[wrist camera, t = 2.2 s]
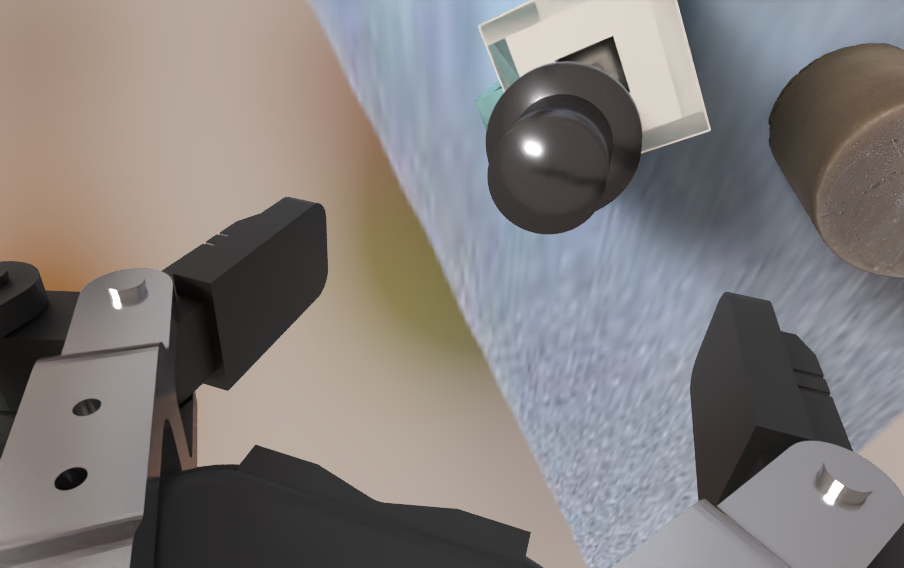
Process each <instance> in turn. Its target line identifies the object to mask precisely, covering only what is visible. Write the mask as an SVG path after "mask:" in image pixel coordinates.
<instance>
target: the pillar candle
mask: <svg viewBox="0 0 904 568" xmlns="http://www.w3.org/2000/svg"><path fill="white" fill-rule="evenodd" d="M769 125H770V138H769V145H770V148H771V151H772V153H773V155H774V157H775V159H776V161H777V163H778V165H779V166H780V168H781V170H782V171H783V173H784V175H785V176H786V178H787V180H788V181H789V183H790V185H791V187H792V189H793V190H794V192H795V193H796V195H797V196H798V198H799V200H800V201H801V203H802V205H803V206H804V208H805V210H806V212H807V213H808V215H809V217H810V218H811V220H812V222H813V224H814V225H815V227H816V229H817V231H818V232H819V234H820V235H821V237H822V239H823V241H824V242H825V243H826V244H827V246H828V247H829V248H830V249H831V250H832V252H833V253H835V254H836V255H837V256H838V257H839V258H841V259H842V260H844V261H845V262H847V263H849V264H850V265H852V266H854V267H856V268H858V269H861V270H864V271H867V272H871V273H874V274H878V275H884V276H891V277H897V278H901V277H902V278H904V50H902V49H900V48H897V47H894V46H891V45H889V44H884V43H882V44H869V43H868V44H860V45H856V46H851V47H845V48H842V49H839V50H836V51H833V52H831V53H828V54H826V55H824V56H822V57H821V58H819V59H816V60H815V61H813V62H812V63H810V64H809V65H807V66H806V67H805V68H803V69H802V70H801V71H800V72H799V74H798V75H795V77H793V78H792V79H791V80H790V81H789V82H788V84H787V85H786V86H785V88H784V89H783V90H782V92H781V94H780V95H779V97H778V98H777V101H776V102H775V104H774V106H773V109H772V111H771V115H770V117H769Z"/></svg>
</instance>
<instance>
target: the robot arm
mask: <svg viewBox="0 0 904 568" xmlns="http://www.w3.org/2000/svg"><path fill="white" fill-rule="evenodd" d="M326 231H327V230H326V213H325V210H324V207H323V206H322V205H321V204H319V203H314V202H309V201H305V200H300V199H296V198H291V197H285V198H283V199H281V200H280V201H279V202H277V203H276V204H274V205H273V206H271V207H270V208H268V209H267V210H265V211H264V212H262V213H261V214H257V215H254V216H251V217H248V218H246V219H242V220H239V221H237V222H235V223H234V224H232V225H231V226H229V227H227V228H226V229H224V230H223V231H222V232H220V235H215V236H214V237H212V238H211V239H209V240H208V241H206V244H202V245H200V246H199V247H197V248H196V249H194V250H193V251H191V252H190V253H188V254H186V255H185V256H183V257H182V258H181V259H179V260H177V261H176V262H174V263H173V264H171V265H170V266H168V267H167V268H165V269H164V270H162V271H159V270H154V269H148V268H132V269H124V270H120V271H115V272H111V273H108V274H105V275H103V276H100V277H98V278H96V279H94V280H93V281H91V282H90V283H88V284H87V285H86V286H85V287H84V288H83V289H82V290H81V292H67V291H45V288H44V285H43V282H42V279H41V277H40V273H39V271H38V269H37V268H36V267H34V266H33V265H31V264H27V263H23V262H15V261H5V262H4V261H3V262H0V568H543V567H542V566H540V565H539V564H537V563H536V562H534V561H533V560H531V559H529V558H528V557H526V551H527V547H528V543H529V538H530V532H528V531H525V530H521V529H519V528H515V527H512V526H509V525H506V524H503V523H499V522H497V521H493V520H490V519H487V518H483V517H481V516H478V515H475V514H471V513H468V512H465V511H462V510H459V509H450V508H439V507H427V506H416V505H404V504H392V503H383V502H379V501H376V500H374V499H372V498H370V497H368V496H367V495H365V494H363V493H362V492H360V491H359V490H357V489H356V488H354V487H353V486H351V485H349V484H348V483H346V482H345V481H343V480H342V479H340V478H338V477H337V476H335V475H333V474H332V473H330V472H329V471H327V470H326V469H324V468H322V467H321V466H319V465H318V464H314V463H311V462H308V461H305V460H302V459H298V458H295V457H292V456H289V455H286V454H283V453H280V452H277V451H273V450H270V449H267V448H264V447H261V446H258V445H255V446H254V447H253V449H252V450H251V451H250V452H249V454H248V455H247V456H246V458H245V459H244V460H243V461H242V462H241V464H240V465H234V464H232V465H231V464H230V465H211V466H203V467H197V399H196V393H195V390H196V389H197V388H198V387H199V386H200V385H201V384H203V383H204V384H207V385H210V386H214V387H217V388H221V389H224V390H227V391H228V390H229V389H230V388H231V387H232V386H233V385H234V384H235V383H236V382H237V381H238V380H239V379H240V378H241V377H242V376H243V375H244V374H245V373H246V372H247V371H248V370H249V368H250V367H251V366H252V365H253V364H254V363H255V362H256V361H257V360H258V359H259V358H260V357H261V356H262V355H263V354H264V353H265V352H266V351H267V350H268V349H269V348H270V347H271V346H272V345H273V344H274V342H275V341H276V340H277V339H278V338H279V337H280V336H281V335H282V334H283V333H284V332H285V331H286V330H287V329H288V328H289V327H290V326H291V325H292V324H293V323H294V321H296V320H297V319H298V318H299V316H300V315H301V314H302V313H303V312H304V311H305V310H306V309H307V308H308V307H309V306H310V305H311V304H312V303H313V302H314V301H315V300H316V299H317V298H318V297H319V295H320V294H321V292H322V290H323V288H324V286H325V283H326V279H327V274H328V258H327V232H326ZM823 376H824V375H823V373H822V370H821V368H820V365H819V362H818V360H817V357H816V355H815V354H814V353H813V352H812V351H811V350H810V349H809V348H808V347H807V346H806V345H805V344H804V342H803V341H802V340H801V339H800V338H799V337H798V336H797V335H795V334H791V333H786V332H782V331H780V328H779V325H778V322H777V318H776V315H775V312H774V309H773V306H772V304H771V302H770V301H767V300H762V299H758V298H753V297H748V296H744V295H739V294H734V293H730V292H725V293H724V294H723V295H722V296H721V298H720V300H719V302H718V304H717V307H716V309H715V312H714V315H713V317H712V320H711V322H710V325H709V327H708V330H707V332H706V335H705V337H704V340H703V342H702V345H701V347H700V350H699V352H698V355H697V358H696V360H695V364H694V367H693V372H692V377H691V385H690V394H691V407H692V421H693V434H694V447H695V460H696V474H697V487H698V500H699V501H698V502H696V503H695V504H694V505H692V506H691V507H690V508H688V509H687V510H686V511H684V512H683V513H682V514H681V515H679V516H678V517H677V518H675V519H674V520H673V521H672V522H670V523H669V524H668V525H666V526H665V527H664V528H663V529H661V530H660V531H659V532H657V533H656V534H655V535H653V536H652V537H651V538H650V539H648V540H647V541H646V542H644V543H643V544H642V545H641V546H639V547H638V548H637V549H635V550H634V551H633V552H632V553H630V554H629V555H628V556H626V557H625V558H624V559H623V560H621V561H620V562H619V563H617V564H616V565H615V566H613V567H612V568H904V496H903V495H902V493H901V491H900V490H899V488H898V487H897V486H896V485H895V483H894V482H893V481H892V480H891V479H890V478H889V477H888V476H887V475H886V474H885V473H884V472H883V471H882V470H880V469H879V468H878V467H877V466H875V465H874V464H872V463H871V462H870V461H868V460H867V459H865V458H863V457H862V456H860V455H858V454H856V453H854V452H853V450H852V447H851V445H850V442H849V440H848V437H847V435H846V432H845V429H844V427H843V424H842V422H841V419H840V417H839V414H838V411H837V409H836V406H835V404H834V401H833V398H832V397H829V395H830V391H829V388H828V386H827V383H826V380H824V379H823Z"/></svg>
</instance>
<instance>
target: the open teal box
mask: <svg viewBox="0 0 904 568" xmlns="http://www.w3.org/2000/svg"><path fill="white" fill-rule="evenodd" d="M478 28H479V30H480V33H481V35H482V38H483V41H484V43H485V46H486V48H487V51H488V53H489V56H490V59H491V61H492V64H493V66H494V69H495V71H496V74H497V77H498V79H499V81H498V82H497V83H496V84H494V85H493V86H492V87H491V88H490V89H489V90H487V91H486V92H485V93H484V94H483V95H482V96H481V97H479V98H478V99H477V100H476V101H475V103H476V106H477V108H478V111H479V113H480V115H481V118H482V120H483V123H484V125H485V128H486V130H487V127H488V122H489V119H490V116H491V113H492V111H493V109H494V107H495V105H496V103H497V102H498V100H499V99H500V97H501V96H502V95H503V93H504V92H505V91H506V90H507V89H508V88H509V87H510V86H511V85H512V84H513V83H514V82H515V81H516V80H517V79H518V78H520V77H521V76H523V75H524V74H526V73H527V72H529V71H531V70H533V69H535V68H537V67H540V66H543V65H545V64H549V63H554V62H558V59H560V58H562V57H564V56H567V55H569V54H571V53H574V52H576V51H579V50H581V49H583V48H586V47H588V46H590V45H593V44H595V43H597V42H600V41H602V40H604V39H607V38H609V37H611V36H613V37H614V41H615V44H616V47H617V50H618V54H619V57H620V60H621V63H622V67H623V70H624V73H625V76H626V80H627V83H628V86H629V89H630V92H629V94H630V95H631V97H632V98H633V100H634V102H635V104H636V106H637V109H638V111H639V114H640V119H641V123H642V133H643V137H642V151H641V153H644V152H648V151H651V150H654V149H657V148H660V147H663V146H666V145H669V144H672V143H675V142H678V141H681V140H684V139H687V138H690V137H694V136H697V135H700V134H703V133H706V132H709V131H711V128H710V124H709V120H708V117H707V113H706V109H705V105H704V101H703V97H702V94H701V90H700V86H699V82H698V78H697V74H696V71H695V67H694V63H693V59H692V55H691V51H690V48H689V44H688V40H687V36H686V32H685V28H684V25H683V21H682V17H681V13H680V9H679V5H678V2H677V0H530V1H528V2H526V3H524V4H522V5H520V6H518V7H516V8H513V9H511V10H509V11H507V12H505V13H503V14H501V15H499V16H497V17H495V18H493V19H491V20H489V21H487V22H485V23H482V24H480V25H478Z"/></svg>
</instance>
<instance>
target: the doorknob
mask: <svg viewBox="0 0 904 568" xmlns="http://www.w3.org/2000/svg"><path fill="white" fill-rule="evenodd" d="M629 92H630V89H629V86H628V83H627V80H626V76H625V73H624V70H623V67H622V63H621V60H620V57H619V54H618V50H617V47H616V44H615V41H614V37H613V36H611V37H609V38H607V39H604V40H602V41H600V42H597V43H595V44H593V45H590V46H588V47H586V48H583V49H581V50H579V51H576V52H574V53H571V54H569V55H567V56H564V57H562V58H560V59H558V62H554V63H549V64H545V65H543V66H540V67H537V68H535V69H533V70H531V71H529V72H527V73H526V74H524V75H523V76H521V77H520V78H518V79H517V80H516V81H515V82H514V83H513V84H512V85H511V86H510V87H509V88H508V89H507V90H506V91H505V92H504V93H503V95H502V96H501V97H500V99H499V100H498V102H497V103H496V105H495V107H494V109H493V111H492V113H491V116H490V119H489V122H488V127H487V132H486V152H487V157H488V162H489V167H488V186H489V191H490V194H491V197H492V199H493V201H494V203H495V205H496V206H497V208H498V209H499V211H500V212H501V213H502V214H503V215H504V216H505V217H506V218H507V219H508V220H509V221H511V222H512V223H513V224H515V225H516V226H518V227H520V228H522V229H525V230H527V231H530V232H534V233H539V234H558V233H562V232H566V231H569V230H572V229H574V228H576V227H578V226H579V225H581V224H582V223H584V222H585V221H586V220H587V219H589V218H590V217H591V216H592V214H593V213H594V212H595V211H597V210H599V209H600V208H602V207H604V206H606V205H607V204H609V203H610V202H612V201H613V200H614V199H615V198H616V197H617V196H619V195H620V194H621V192H622V191H623V190H624V189H625V188H626V187H627V185H628V184H629V182H630V181H631V179H632V178H633V176H634V174H635V172H636V169H637V167H638V164H639V161H640V156H641V151H642V137H643V133H642V123H641V119H640V114H639V111H638V109H637V106H636V104H635V102H634V100H633V98H632V97H631V95H630V94H629Z"/></svg>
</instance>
